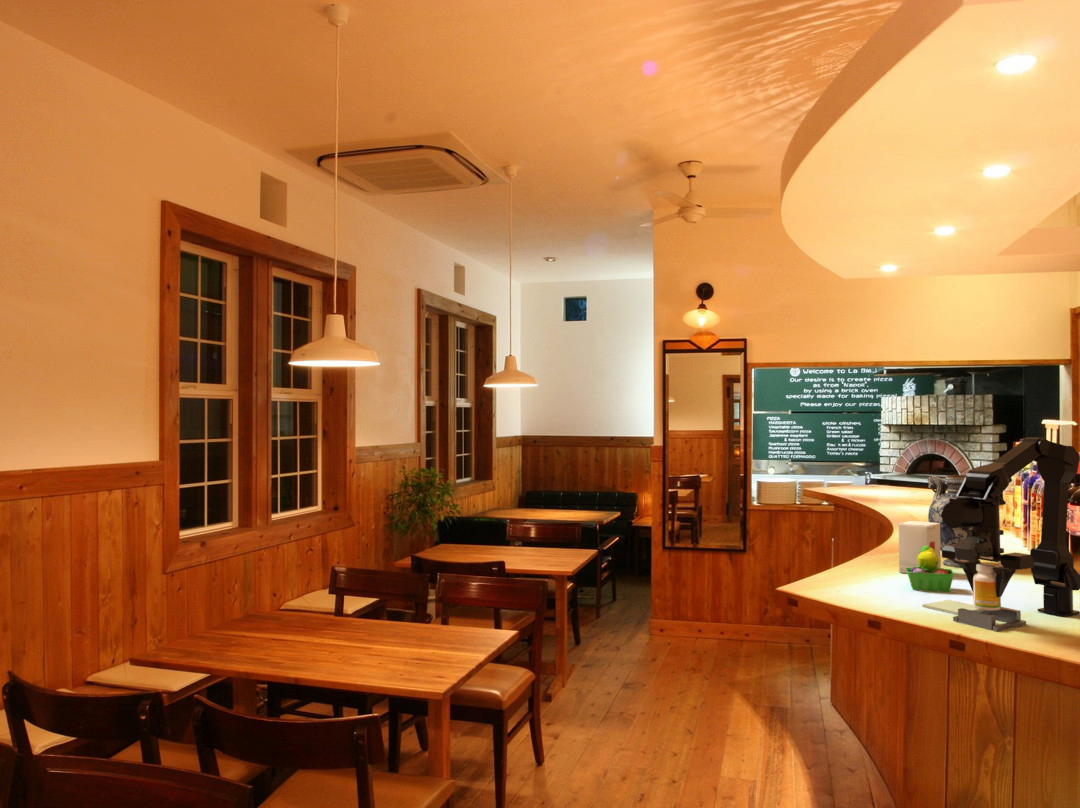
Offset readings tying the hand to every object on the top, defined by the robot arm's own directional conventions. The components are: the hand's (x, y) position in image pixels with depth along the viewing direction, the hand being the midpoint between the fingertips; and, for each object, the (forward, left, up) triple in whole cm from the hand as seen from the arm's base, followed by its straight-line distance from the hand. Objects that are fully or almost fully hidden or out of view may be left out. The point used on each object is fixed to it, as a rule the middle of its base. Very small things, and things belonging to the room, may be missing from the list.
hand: (986, 594), depth 184 cm
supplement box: (-39, -47, -7) cm, 61 cm away
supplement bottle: (0, 0, -3) cm, 3 cm away
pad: (-7, -13, -7) cm, 16 cm away
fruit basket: (-22, -31, -7) cm, 38 cm away
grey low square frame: (-1, 0, -7) cm, 7 cm away
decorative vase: (-61, -49, -7) cm, 78 cm away
